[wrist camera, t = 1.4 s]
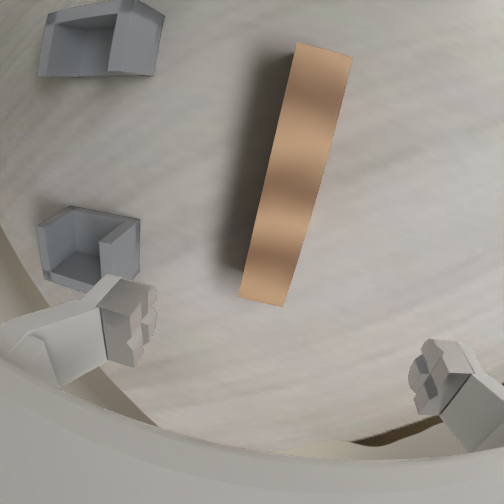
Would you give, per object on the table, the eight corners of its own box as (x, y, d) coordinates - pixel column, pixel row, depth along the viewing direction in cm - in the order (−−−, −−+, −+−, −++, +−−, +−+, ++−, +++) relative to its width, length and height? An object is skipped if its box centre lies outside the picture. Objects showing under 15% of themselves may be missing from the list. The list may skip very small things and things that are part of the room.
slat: (296, 53, 22) (296, 42, 18) (342, 65, 22) (352, 57, 18) (245, 271, 32) (237, 296, 28) (284, 281, 32) (282, 307, 27)
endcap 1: (85, 22, 22) (48, 13, 16) (164, 15, 21) (135, -2, 16) (76, 77, 24) (36, 77, 19) (153, 75, 24) (120, 70, 19)
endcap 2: (139, 271, 33) (114, 301, 27) (73, 254, 33) (44, 278, 28) (140, 219, 30) (110, 244, 25) (70, 205, 30) (36, 225, 25)
